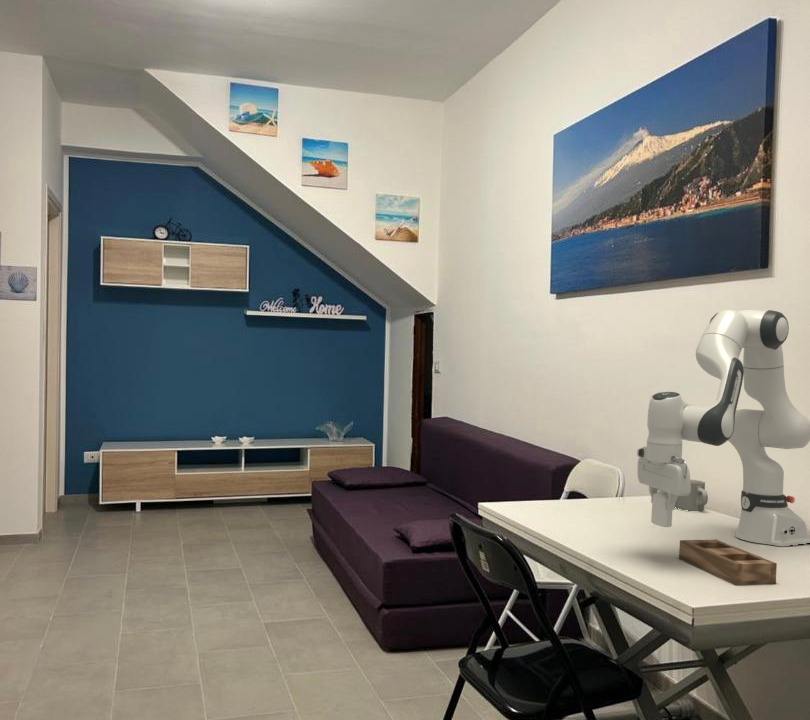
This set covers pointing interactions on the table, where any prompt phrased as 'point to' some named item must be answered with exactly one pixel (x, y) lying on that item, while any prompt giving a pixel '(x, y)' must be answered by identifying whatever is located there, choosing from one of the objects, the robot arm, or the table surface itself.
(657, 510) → the eye dropper bottle
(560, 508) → the table surface
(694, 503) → the coffee mug
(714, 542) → the walnut slot rail
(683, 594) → the table surface
